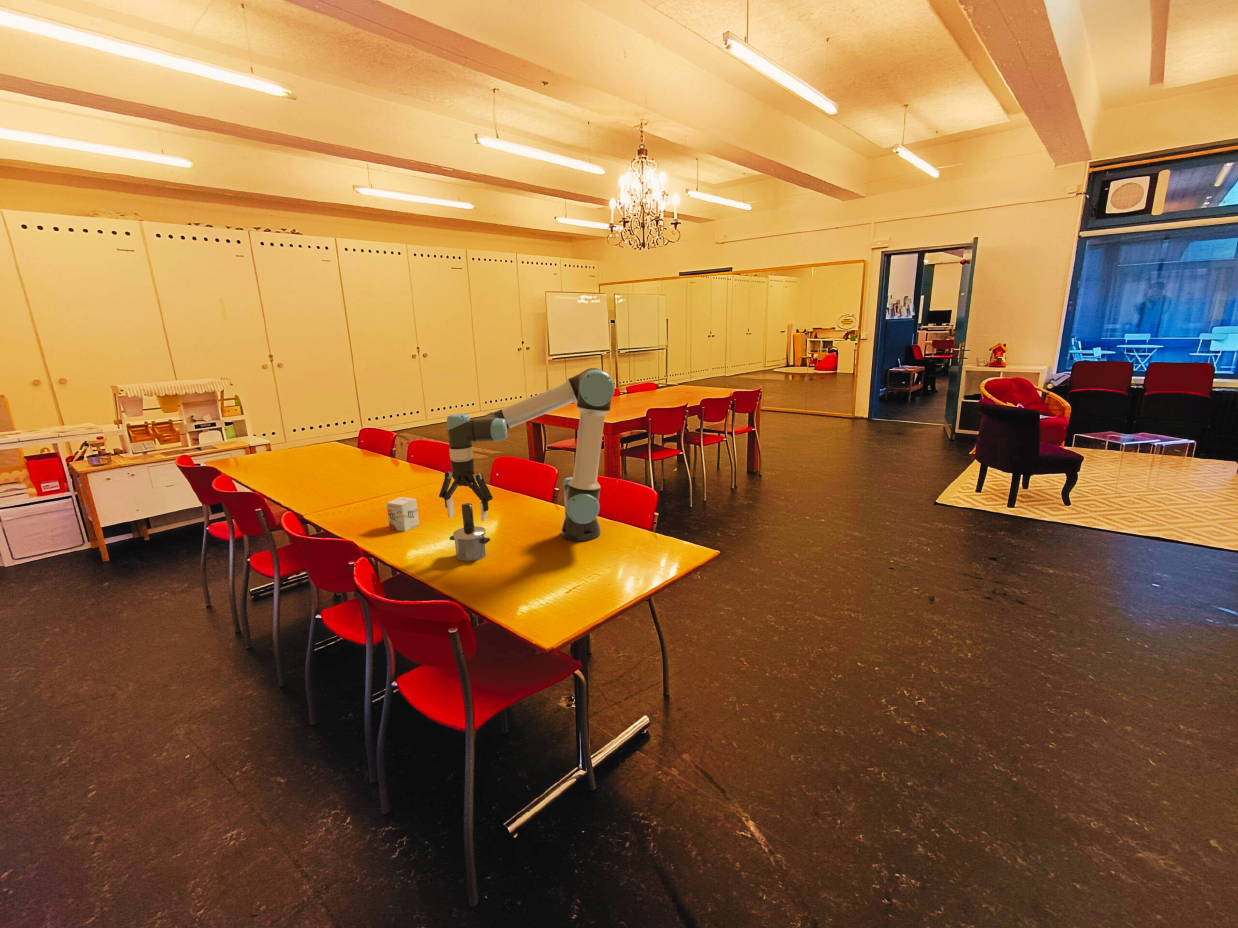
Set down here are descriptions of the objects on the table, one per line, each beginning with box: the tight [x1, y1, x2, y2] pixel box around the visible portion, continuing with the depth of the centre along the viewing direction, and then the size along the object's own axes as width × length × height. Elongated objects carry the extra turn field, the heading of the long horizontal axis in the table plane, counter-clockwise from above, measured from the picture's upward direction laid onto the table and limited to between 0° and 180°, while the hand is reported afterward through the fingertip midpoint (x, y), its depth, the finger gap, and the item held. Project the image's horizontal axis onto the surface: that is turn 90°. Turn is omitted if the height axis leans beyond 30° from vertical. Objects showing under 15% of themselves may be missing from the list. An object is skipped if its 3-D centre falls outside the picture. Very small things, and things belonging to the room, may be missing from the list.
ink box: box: [385, 496, 420, 532], centre depth 222 cm, size 9×9×12 cm
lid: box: [452, 502, 487, 541], centre depth 189 cm, size 11×11×11 cm
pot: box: [449, 535, 491, 563], centre depth 191 cm, size 15×10×8 cm
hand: (467, 518), depth 189 cm, fingers open, 13 cm apart
